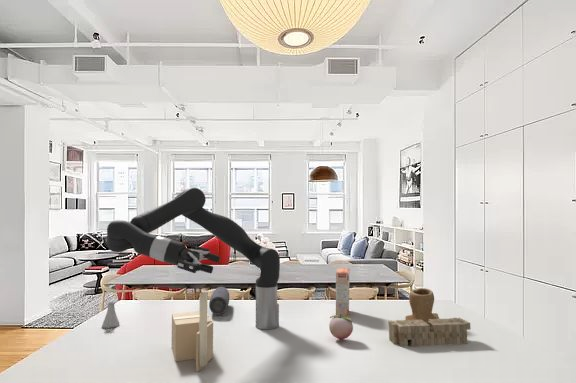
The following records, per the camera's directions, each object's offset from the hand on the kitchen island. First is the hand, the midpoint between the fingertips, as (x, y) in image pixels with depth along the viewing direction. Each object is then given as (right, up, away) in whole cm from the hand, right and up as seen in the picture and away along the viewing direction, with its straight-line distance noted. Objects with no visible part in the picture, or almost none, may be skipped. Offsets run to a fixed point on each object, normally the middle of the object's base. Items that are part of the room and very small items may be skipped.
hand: (216, 264), depth 125 cm
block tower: (+77, -34, +23) cm, 87 cm away
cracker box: (+49, -35, +61) cm, 86 cm away
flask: (-53, -34, +43) cm, 76 cm away
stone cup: (+83, -35, +47) cm, 101 cm away
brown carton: (-11, -33, +13) cm, 37 cm away
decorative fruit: (+43, -34, +25) cm, 60 cm away
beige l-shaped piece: (-3, -33, +1) cm, 33 cm away
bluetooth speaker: (-11, -35, +67) cm, 77 cm away
